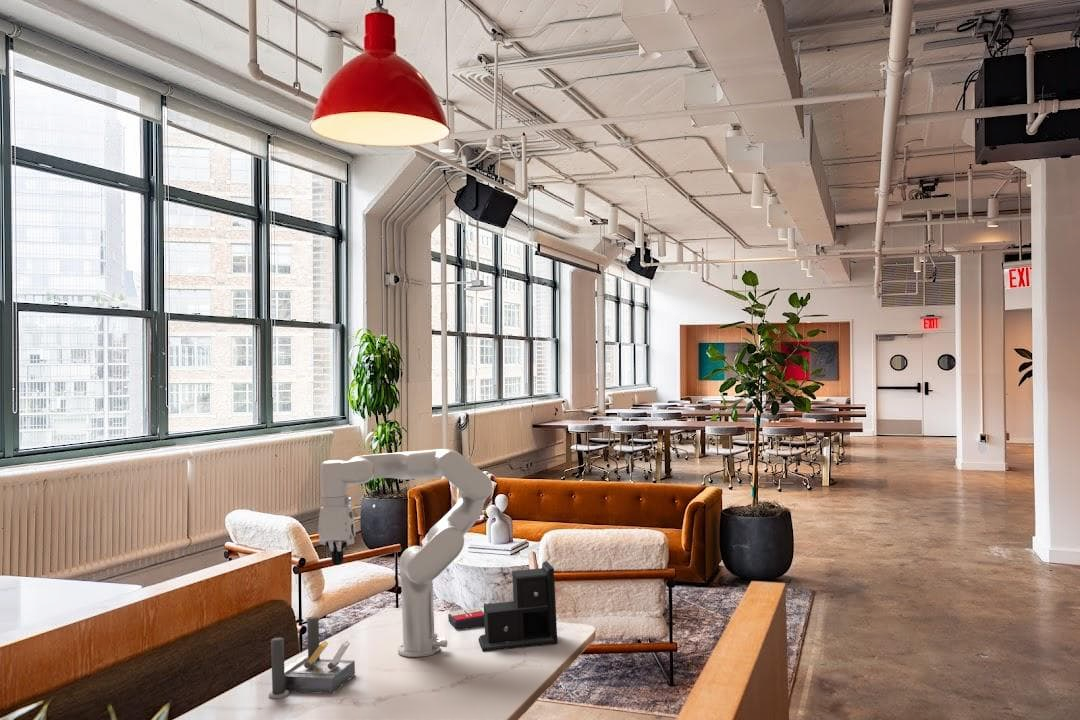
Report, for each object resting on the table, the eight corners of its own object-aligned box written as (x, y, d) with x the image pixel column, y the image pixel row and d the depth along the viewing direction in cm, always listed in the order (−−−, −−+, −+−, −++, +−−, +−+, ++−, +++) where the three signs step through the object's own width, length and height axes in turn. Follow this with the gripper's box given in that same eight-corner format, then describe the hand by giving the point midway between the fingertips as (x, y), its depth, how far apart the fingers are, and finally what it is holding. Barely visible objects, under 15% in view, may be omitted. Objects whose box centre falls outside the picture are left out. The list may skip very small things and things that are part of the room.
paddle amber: (313, 665, 237) (329, 643, 236) (307, 669, 233) (323, 648, 232) (309, 661, 237) (325, 640, 236) (303, 665, 233) (319, 644, 232)
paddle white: (337, 665, 235) (351, 643, 234) (331, 670, 232) (345, 647, 231) (332, 662, 235) (346, 639, 235) (326, 666, 232) (341, 643, 231)
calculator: (447, 611, 289) (490, 604, 294) (448, 624, 289) (491, 616, 294) (454, 620, 279) (498, 612, 284) (455, 633, 279) (499, 625, 284)
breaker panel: (354, 674, 240) (354, 657, 240) (332, 693, 226) (332, 675, 226) (302, 672, 243) (302, 655, 243) (277, 690, 229) (277, 672, 229)
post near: (292, 692, 228) (290, 636, 228) (282, 699, 223) (281, 642, 223) (275, 691, 229) (273, 636, 229) (265, 698, 224) (263, 642, 224)
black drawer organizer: (482, 652, 256) (479, 574, 256) (478, 641, 266) (475, 566, 267) (558, 644, 260) (555, 568, 261) (551, 634, 271) (548, 560, 271)
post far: (326, 666, 247) (324, 615, 248) (318, 672, 243) (316, 620, 243) (310, 666, 248) (308, 615, 249) (302, 672, 244) (300, 620, 244)
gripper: (364, 499, 254) (366, 561, 254) (317, 500, 257) (320, 561, 257) (353, 503, 247) (356, 567, 246) (306, 504, 250) (308, 567, 249)
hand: (337, 563), depth 252 cm, fingers closed
